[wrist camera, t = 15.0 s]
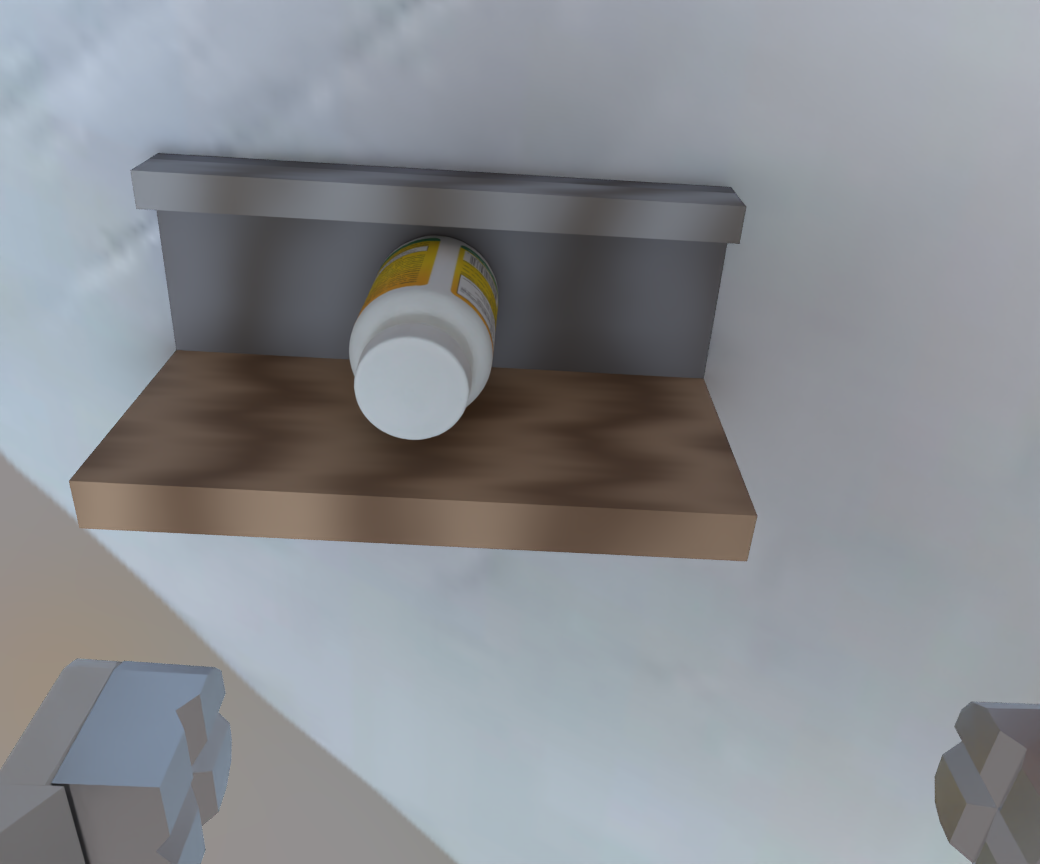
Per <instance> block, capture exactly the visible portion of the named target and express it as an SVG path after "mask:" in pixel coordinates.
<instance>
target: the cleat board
mask: <svg viewBox="0 0 1040 864" xmlns="http://www.w3.org/2000/svg"><path fill="white" fill-rule="evenodd" d="M130 171H131V178H132V184H133V191H134V197H135V204H136V209H147V210H157V217H158V224H159V231H160V238H161V245H162V252H163V259H164V266H165V273H166V280H167V287H168V294H169V301H170V308H171V315H172V322H173V329H174V336H175V343H176V351H175V352H174V354H173V355H172V356H171V357H170V359H169V360H168V361H167V362H166V363H165V365H164V366H163V367H162V368H161V370H160V371H159V372H158V373H157V374H156V376H155V377H154V378H153V379H152V380H151V382H150V383H149V384H148V385H147V387H146V388H145V389H144V390H143V391H142V393H141V394H140V395H139V396H138V398H137V399H136V400H135V401H134V402H133V404H132V405H131V406H130V407H129V408H128V410H127V411H126V412H125V413H124V415H123V416H122V417H121V418H120V419H119V421H118V422H117V423H116V424H115V426H114V427H113V428H112V429H111V430H110V432H109V433H108V434H107V435H106V436H105V438H104V439H103V440H102V441H101V443H100V444H99V445H98V446H97V447H96V449H95V450H94V451H93V452H92V454H91V455H90V456H89V457H88V458H87V460H86V461H85V462H84V463H83V464H82V466H81V467H80V468H79V469H78V471H77V472H76V473H75V474H74V475H73V477H72V478H71V479H70V480H69V483H70V488H71V492H72V497H73V501H74V506H75V510H76V515H77V519H78V524H79V528H86V529H106V530H127V531H147V532H167V533H187V534H207V535H227V536H248V537H268V538H288V539H308V540H328V541H349V542H369V543H389V544H409V545H429V546H450V547H470V548H490V549H510V550H530V551H551V552H571V553H591V554H611V555H631V556H652V557H672V558H692V559H712V560H732V561H747V559H748V555H749V550H750V546H751V541H752V537H753V532H754V528H755V524H756V519H757V514H756V511H755V509H754V506H753V504H752V501H751V499H750V496H749V493H748V491H747V488H746V486H745V483H744V481H743V478H742V476H741V473H740V470H739V468H738V465H737V463H736V460H735V458H734V455H733V453H732V450H731V448H730V445H729V442H728V440H727V437H726V435H725V432H724V430H723V427H722V425H721V422H720V419H719V417H718V414H717V412H716V409H715V407H714V404H713V402H712V399H711V396H710V394H709V391H708V389H707V386H706V384H705V381H704V373H705V367H706V362H707V356H708V350H709V344H710V339H711V333H712V327H713V322H714V316H715V310H716V304H717V299H718V293H719V287H720V282H721V276H722V270H723V264H724V259H725V253H726V247H727V243H736V244H740V238H741V233H742V227H743V222H744V216H745V211H746V206H745V204H744V203H743V202H742V201H741V199H740V198H739V197H738V195H737V194H736V193H735V192H734V190H733V189H732V188H731V187H719V186H702V185H685V184H668V183H651V182H635V181H618V180H601V179H584V178H567V177H550V176H533V175H516V174H499V173H482V172H465V171H449V170H432V169H415V168H398V167H381V166H364V165H347V164H330V163H313V162H296V161H279V160H263V159H246V158H229V157H212V156H195V155H178V154H161V153H158V154H156V155H154V156H153V157H151V158H150V159H148V160H146V161H145V162H143V163H142V164H140V165H138V166H137V167H135V168H134V169H132V170H130ZM424 236H445V237H450V238H454V239H457V240H459V241H462V242H464V243H466V244H467V245H469V246H471V247H472V248H474V249H475V250H476V251H477V252H478V253H480V254H481V256H482V257H483V258H484V259H485V260H486V261H487V263H488V264H489V266H490V268H491V270H492V272H493V274H494V276H495V279H496V282H497V287H498V312H497V322H496V332H495V342H494V352H493V361H492V368H491V372H490V375H489V378H488V381H487V383H486V385H485V387H484V388H483V390H482V391H481V393H480V394H479V395H478V397H477V398H476V399H475V400H474V401H473V402H472V403H471V404H470V405H468V406H467V407H466V408H465V411H464V413H463V414H462V416H461V417H460V419H459V420H458V421H457V422H456V423H455V424H454V425H453V426H452V427H451V428H450V429H448V430H447V431H445V432H444V433H442V434H440V435H437V436H434V437H431V438H427V439H421V440H408V439H402V438H398V437H394V436H392V435H389V434H387V433H385V432H383V431H381V430H380V429H378V428H377V427H375V426H374V425H373V424H372V423H371V422H370V421H369V420H368V419H367V418H366V417H365V415H364V414H363V412H362V411H361V409H360V407H359V405H358V403H357V400H356V396H355V391H354V378H355V376H354V374H353V371H352V368H351V364H350V358H349V343H350V337H351V333H352V330H353V327H354V324H355V322H356V320H357V318H358V316H359V313H360V311H361V309H362V307H363V305H364V303H365V301H366V298H367V296H368V294H369V292H370V290H371V288H372V285H373V283H374V281H375V278H376V276H377V274H378V272H379V270H380V268H381V266H382V264H383V263H384V261H385V260H386V259H387V257H388V256H389V255H390V254H391V253H392V252H393V251H394V250H396V249H397V248H398V247H400V246H401V245H403V244H405V243H407V242H409V241H412V240H414V239H417V238H420V237H424Z"/></svg>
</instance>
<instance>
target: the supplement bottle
mask: <svg viewBox="0 0 1040 864" xmlns="http://www.w3.org/2000/svg"><path fill="white" fill-rule="evenodd" d="M497 312H498V287H497V282H496V279H495V276H494V274H493V272H492V270H491V268H490V266H489V264H488V263H487V261H486V260H485V259H484V258H483V257H482V256H481V254H480V253H478V252H477V251H476V250H475V249H474V248H472V247H471V246H469V245H467V244H466V243H464V242H462V241H459V240H457V239H454V238H450V237H445V236H424V237H420V238H417V239H414V240H412V241H409V242H407V243H405V244H403V245H401V246H400V247H398V248H397V249H396V250H394V251H393V252H392V253H391V254H390V255H389V256H388V257H387V259H386V260H385V261H384V263H383V264H382V266H381V268H380V270H379V272H378V274H377V276H376V278H375V281H374V283H373V285H372V288H371V290H370V292H369V294H368V296H367V298H366V301H365V303H364V305H363V307H362V309H361V311H360V313H359V316H358V318H357V320H356V322H355V324H354V327H353V330H352V333H351V337H350V343H349V358H350V364H351V368H352V371H353V374H354V376H355V378H354V391H355V396H356V400H357V403H358V405H359V407H360V409H361V411H362V412H363V414H364V415H365V417H366V418H367V419H368V420H369V421H370V422H371V423H372V424H373V425H374V426H375V427H377V428H378V429H380V430H381V431H383V432H385V433H387V434H389V435H392V436H394V437H398V438H402V439H408V440H421V439H427V438H431V437H434V436H437V435H440V434H442V433H444V432H445V431H447V430H448V429H450V428H451V427H452V426H453V425H454V424H455V423H456V422H457V421H458V420H459V419H460V417H461V416H462V414H463V413H464V411H465V408H466V407H467V406H468V405H470V404H471V403H472V402H473V401H474V400H475V399H476V398H477V397H478V395H479V394H480V393H481V391H482V390H483V388H484V387H485V385H486V383H487V381H488V378H489V375H490V372H491V368H492V361H493V352H494V342H495V332H496V322H497Z"/></svg>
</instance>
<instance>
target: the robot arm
mask: <svg viewBox="0 0 1040 864" xmlns="http://www.w3.org/2000/svg"><path fill="white" fill-rule="evenodd" d="M224 696H225V688H224V682H223V678H222V671H221V670H219V669H217V668H215V667H204V666H190V665H189V666H188V665H176V664H162V663H148V662H132V661H123V662H119V661H106V660H92V659H78V658H77V659H75V660H74V661H73V662H71V663H70V664H69V665H67V666H66V667H65V668H64V669H63V670H62V672H61V673H60V675H59V677H58V678H57V680H56V681H55V683H54V685H53V686H52V688H51V689H50V691H49V693H48V694H47V696H46V697H45V699H44V701H43V702H42V704H41V705H40V707H39V709H38V710H37V712H36V713H35V715H34V717H33V718H32V720H31V721H30V723H29V725H28V726H27V728H26V729H25V731H24V732H23V734H22V736H21V737H20V739H19V741H18V742H17V744H16V745H15V747H14V748H13V750H12V752H11V753H10V755H9V756H8V758H7V760H6V761H5V763H4V764H3V766H2V768H1V769H0V864H201V861H202V858H203V855H204V852H205V844H204V838H203V832H202V826H203V825H204V824H205V823H206V822H207V821H208V820H210V819H211V818H212V817H213V816H214V815H216V814H217V813H218V812H219V809H220V806H221V803H222V800H223V797H224V794H225V791H226V787H227V782H228V776H229V770H230V765H231V751H232V749H231V748H232V738H231V730H230V723H229V722H228V721H227V720H226V719H225V718H224V717H223V716H222V715H221V714H220V713H219V709H220V706H221V704H222V701H223V698H224ZM954 727H955V729H956V731H957V732H958V734H959V736H960V738H961V740H962V741H961V742H960V743H959V744H957V745H956V746H954V747H953V748H952V749H950V750H949V751H947V752H946V753H944V754H943V755H942V758H941V760H940V763H939V766H938V769H937V772H936V774H935V804H936V808H937V812H938V816H939V820H940V823H941V825H942V828H943V830H944V832H945V834H946V837H947V839H948V841H949V843H950V844H951V845H952V846H953V847H955V848H956V849H957V850H958V851H959V852H960V853H962V854H963V855H964V856H965V857H966V858H967V859H969V860H970V861H971V862H972V864H1040V704H1025V703H998V702H970V703H969V704H968V705H967V706H966V707H964V708H963V709H962V710H961V712H960V714H959V717H958V719H957V721H956V724H955V726H954Z"/></svg>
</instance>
